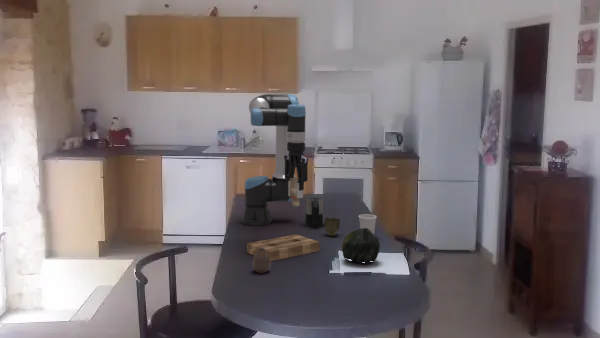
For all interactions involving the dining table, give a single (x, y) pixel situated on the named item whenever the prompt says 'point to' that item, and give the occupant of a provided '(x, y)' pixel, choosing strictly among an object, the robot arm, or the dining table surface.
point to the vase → (261, 261)
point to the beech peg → (294, 191)
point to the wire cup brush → (332, 225)
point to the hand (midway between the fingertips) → (295, 196)
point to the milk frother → (314, 211)
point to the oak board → (285, 246)
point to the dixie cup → (367, 221)
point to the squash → (361, 246)
